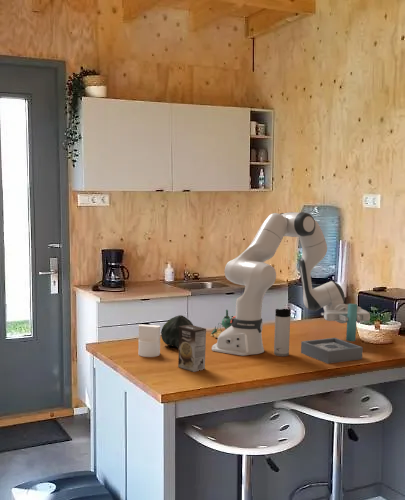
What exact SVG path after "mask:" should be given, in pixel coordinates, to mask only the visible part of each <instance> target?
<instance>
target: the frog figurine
mask: <svg viewBox="0 0 405 500" xmlns="http://www.w3.org/2000/svg"><path fill="white" fill-rule="evenodd" d="M230 317H231V318H230ZM233 317H234V316H233V315H231V316H229V310H228V309H226V310H225V316H224V317H223V319H222V320H221V322H218V324H217V325H218V326H219V327H217V328H216V326H215V327H214V328H213V329H212V331H211V332H210V337H214V338H217V339H218V337H219V335H220V334H221V333H222V332H223V331H222V329H221V328H224V330H226V329H227V328H229V327H230V326H231V323H230V322H231V319H232V318H233ZM219 324H220V325H219ZM219 328H220V329H219ZM218 329H219V330H220V331H218Z"/></svg>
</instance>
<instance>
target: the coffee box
mask: <svg viewBox="0 0 405 500" xmlns="http://www.w3.org/2000/svg"><path fill="white" fill-rule="evenodd" d="M206 341H207V328H205V327H201V326H198V325H195V324H193V325H184V326H179V348H178V358H177V359H178V361H177V362H178V363H177V366H178V367H177V368H181V369H183V370H186V371H190V372H193V373H196V372H199V370H200V371H203V369H204V370H205V369H206V367H205V366H206V347H207V346H206Z"/></svg>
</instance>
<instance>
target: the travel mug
mask: <svg viewBox="0 0 405 500" xmlns="http://www.w3.org/2000/svg"><path fill="white" fill-rule="evenodd" d="M290 329H291V308H281V309H280V308H276V309H275V316H274V338H273V339H274V340H273V341H274V342H273V345H274V346H273V354H274V356H277V357H288V356H290V355H289V354H290V336H291V335H290V333H291V332H290V331H291V330H290Z"/></svg>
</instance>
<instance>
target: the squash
mask: <svg viewBox="0 0 405 500" xmlns="http://www.w3.org/2000/svg"><path fill="white" fill-rule="evenodd" d="M184 325H194V323H193V322H192V321H191V320H190V319H189V318H187V317H186V316H184V315H182V314H181V315H175V316H174V317H171V318H170V319H168V320H167V321H166V323H165V322H164V324H163V326H162V327H161V329H160V338H161V340H162V342H163V343H164V344H165V345H167V346H172V347H175V348H177V349H179V326H184Z"/></svg>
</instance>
